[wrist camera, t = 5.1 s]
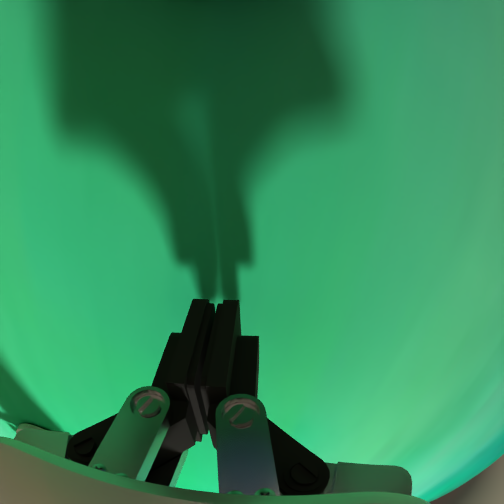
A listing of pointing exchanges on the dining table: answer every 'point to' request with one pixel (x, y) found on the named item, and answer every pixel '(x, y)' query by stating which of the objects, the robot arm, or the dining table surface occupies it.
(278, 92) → the dining table surface
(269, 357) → the dining table surface
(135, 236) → the dining table surface
